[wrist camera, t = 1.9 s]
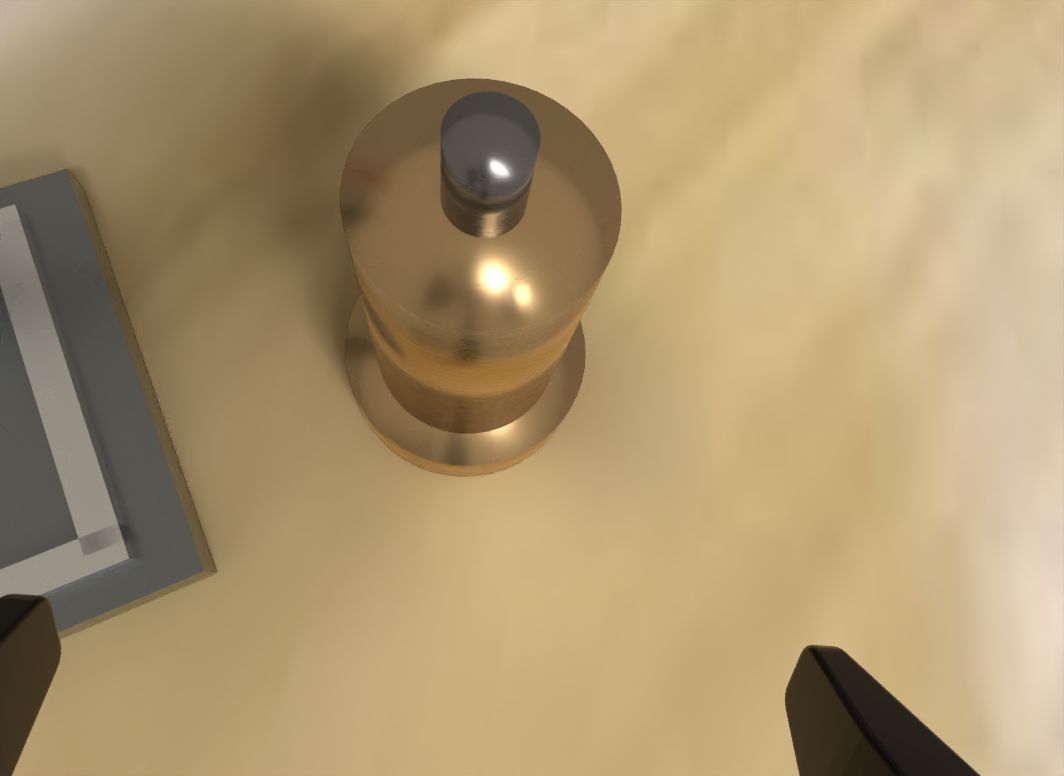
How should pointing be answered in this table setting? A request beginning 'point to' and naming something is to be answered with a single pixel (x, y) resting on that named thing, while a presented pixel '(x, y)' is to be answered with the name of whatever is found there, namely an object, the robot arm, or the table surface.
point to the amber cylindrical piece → (473, 270)
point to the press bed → (81, 425)
